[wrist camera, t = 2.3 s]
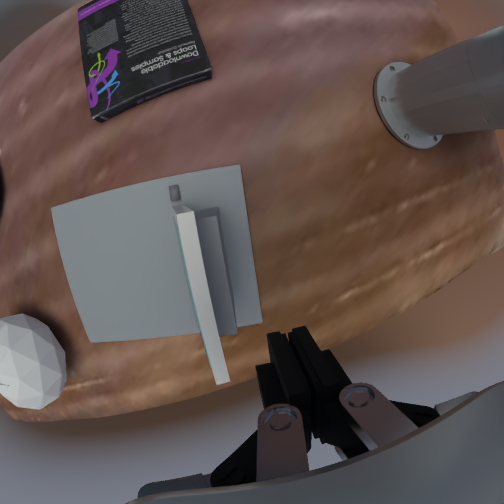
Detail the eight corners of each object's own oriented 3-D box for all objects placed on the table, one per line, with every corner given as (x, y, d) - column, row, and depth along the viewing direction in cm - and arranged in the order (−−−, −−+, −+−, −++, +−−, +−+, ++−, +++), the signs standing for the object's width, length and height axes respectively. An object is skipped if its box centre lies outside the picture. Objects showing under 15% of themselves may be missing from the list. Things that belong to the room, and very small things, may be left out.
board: (239, 165, 28) (246, 156, 19) (261, 318, 33) (274, 364, 24) (56, 206, 27) (8, 217, 18) (93, 338, 31) (65, 378, 22)
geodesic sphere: (24, 402, 27) (20, 446, 16) (-23, 334, 23) (-49, 358, 13) (80, 363, 35) (90, 398, 25) (35, 291, 32) (24, 301, 21)
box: (86, 18, 21) (101, 125, 26) (76, 7, 18) (88, 119, 22) (179, -20, 21) (213, 81, 26) (175, -34, 18) (212, 68, 22)
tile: (193, 211, 15) (175, 214, 15) (230, 381, 18) (216, 385, 18) (181, 203, 27) (171, 205, 27) (202, 310, 30) (193, 312, 30)
